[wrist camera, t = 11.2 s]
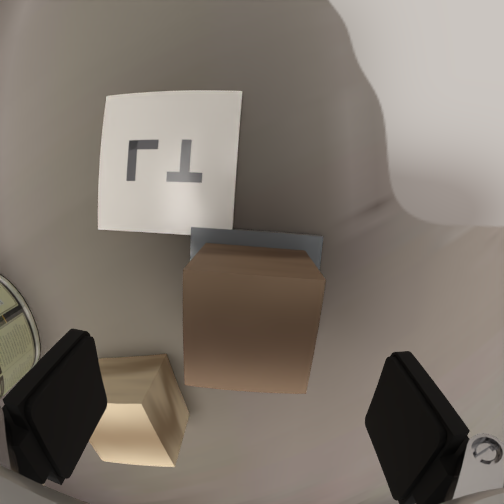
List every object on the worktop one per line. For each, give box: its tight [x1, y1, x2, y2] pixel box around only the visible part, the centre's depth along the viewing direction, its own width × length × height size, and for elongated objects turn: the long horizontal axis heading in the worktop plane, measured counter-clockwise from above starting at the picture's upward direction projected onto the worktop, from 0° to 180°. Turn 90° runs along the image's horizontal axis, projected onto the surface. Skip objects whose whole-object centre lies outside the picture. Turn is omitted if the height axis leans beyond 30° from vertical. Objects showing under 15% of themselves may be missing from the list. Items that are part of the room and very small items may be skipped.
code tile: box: [98, 90, 243, 235], centre depth 18 cm, size 9×9×1 cm
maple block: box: [89, 354, 190, 467], centre depth 19 cm, size 6×6×6 cm
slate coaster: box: [190, 227, 323, 270], centre depth 20 cm, size 8×8×1 cm
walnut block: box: [183, 243, 326, 394], centre depth 16 cm, size 6×6×6 cm
